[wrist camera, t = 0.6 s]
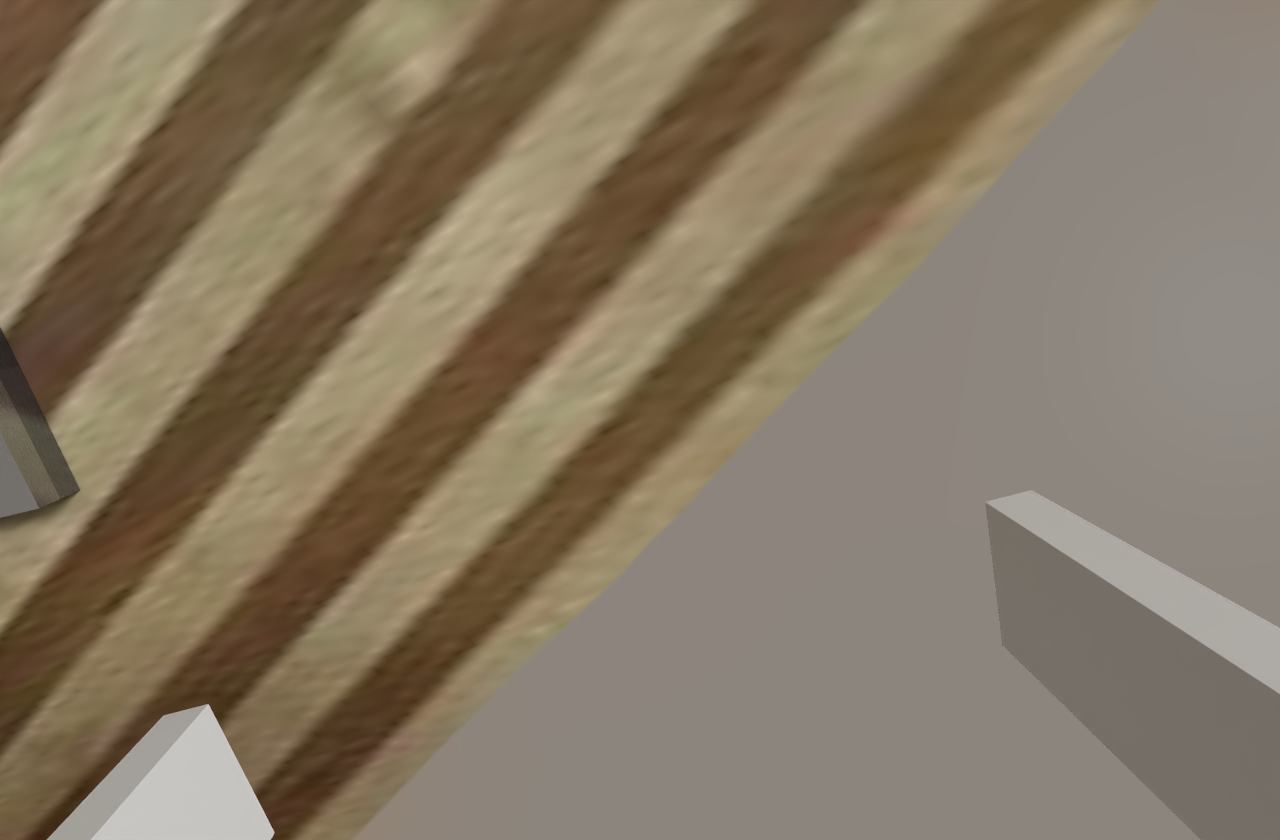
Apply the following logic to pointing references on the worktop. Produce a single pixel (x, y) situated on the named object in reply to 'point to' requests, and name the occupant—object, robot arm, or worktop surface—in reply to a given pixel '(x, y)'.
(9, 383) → the upper link
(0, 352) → the lower link
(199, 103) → the worktop surface
